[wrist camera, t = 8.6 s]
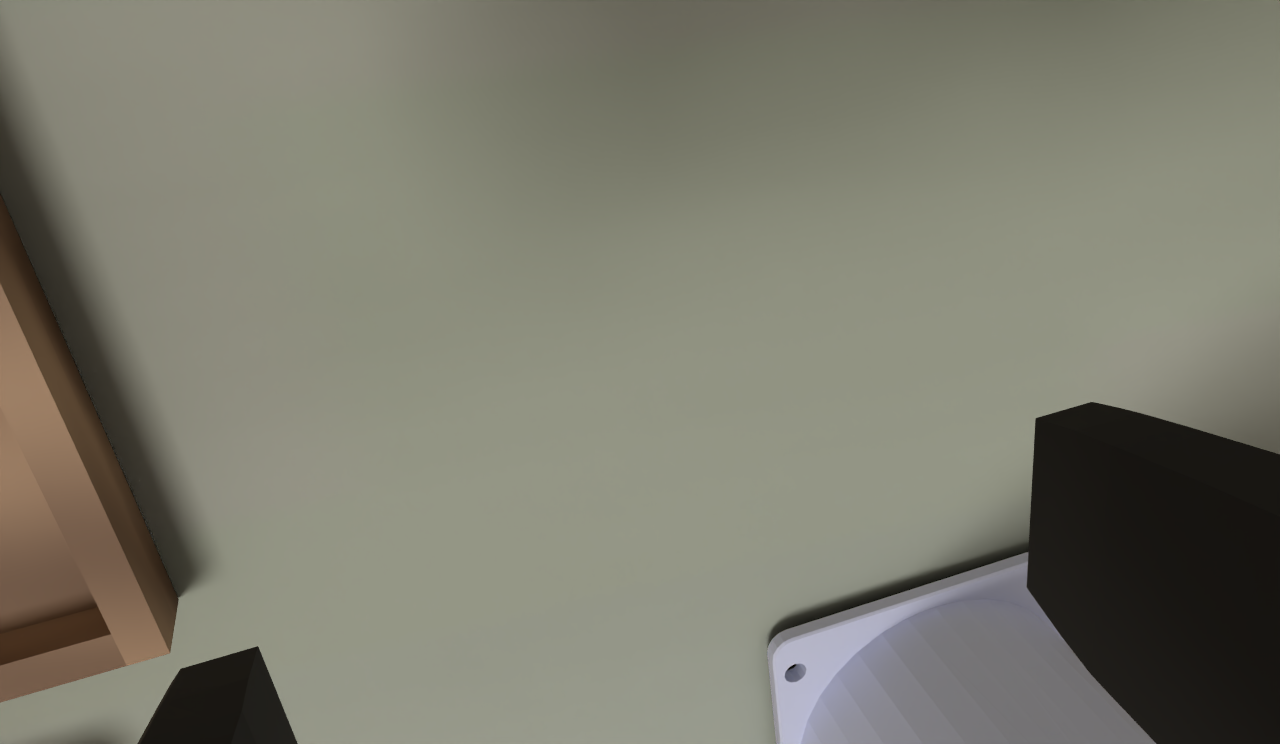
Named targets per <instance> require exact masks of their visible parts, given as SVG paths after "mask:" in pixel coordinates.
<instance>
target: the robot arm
mask: <svg viewBox="0 0 1280 744" xmlns="http://www.w3.org/2000/svg"><path fill="white" fill-rule="evenodd" d="M767 655H768V666H769V676H770V686H771V696H772V706H773V716H774V726H775V736H776V744H1280V455H1279V454H1276V453H1273V452H1269V451H1266V450H1263V449H1260V448H1256V447H1253V446H1250V445H1246V444H1243V443H1240V442H1236V441H1233V440H1230V439H1227V438H1223V437H1220V436H1217V435H1213V434H1210V433H1207V432H1203V431H1200V430H1197V429H1193V428H1190V427H1187V426H1183V425H1180V424H1176V423H1173V422H1169V421H1166V420H1162V419H1159V418H1155V417H1152V416H1148V415H1144V414H1141V413H1137V412H1133V411H1129V410H1125V409H1121V408H1117V407H1112V406H1108V405H1103V404H1099V403H1094V402H1090V403H1087V404H1083V405H1080V406H1076V407H1073V408H1069V409H1066V410H1063V411H1059V412H1056V413H1052V414H1049V415H1046V416H1042V417H1039V418H1036V422H1035V440H1034V459H1033V477H1032V496H1031V514H1030V533H1029V551H1028V552H1026V553H1023V554H1020V555H1017V556H1014V557H1010V558H1007V559H1004V560H1001V561H998V562H995V563H992V564H989V565H986V566H982V567H979V568H976V569H973V570H970V571H967V572H964V573H961V574H958V575H954V576H951V577H948V578H945V579H942V580H939V581H936V582H933V583H929V584H926V585H923V586H920V587H917V588H914V589H911V590H908V591H905V592H901V593H898V594H895V595H892V596H889V597H886V598H883V599H880V600H877V601H873V602H870V603H867V604H864V605H861V606H858V607H855V608H852V609H849V610H845V611H842V612H839V613H836V614H833V615H830V616H827V617H824V618H821V619H817V620H814V621H811V622H808V623H805V624H802V625H799V626H796V627H793V628H789V629H786V630H784V631H782V632H780V633H778V634H777V635H776V636H775V637H774V638H773V639H772V640H771V642H770V644H769V646H768V651H767ZM794 664H796V666H795V667H794V668H792V669H790V670H787V669H788V668H789V667H790V666H792V665H794ZM138 744H297V741H296V739H295V736H294V734H293V731H292V729H291V726H290V724H289V721H288V719H287V717H286V714H285V712H284V709H283V707H282V704H281V702H280V699H279V697H278V694H277V692H276V689H275V687H274V684H273V682H272V679H271V677H270V674H269V672H268V670H267V667H266V665H265V662H264V660H263V657H262V655H261V652H260V650H259V647H258V646H257V647H254V648H251V649H247V650H244V651H240V652H237V653H234V654H230V655H227V656H223V657H220V658H216V659H213V660H210V661H206V662H203V663H199V664H196V665H193V666H189V667H186V668H182V669H180V671H179V672H178V674H177V675H176V677H175V678H174V680H173V681H172V683H171V685H170V686H169V688H168V690H167V692H166V693H165V695H164V697H163V699H162V700H161V702H160V704H159V706H158V708H157V709H156V711H155V713H154V715H153V717H152V718H151V720H150V722H149V724H148V726H147V727H146V729H145V731H144V733H143V735H142V737H141V738H140V740H139V742H138Z"/></svg>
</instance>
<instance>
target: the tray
mask: <svg viewBox="0 0 1280 744" xmlns="http://www.w3.org/2000/svg"><path fill="white" fill-rule="evenodd" d="M178 600H179V599H178V597H177V595H176V592H175V590H174V588H173V586H172V583H171V581H170V579H169V576H168V574H167V572H166V570H165V567H164V565H163V563H162V561H161V558H160V556H159V554H158V551H157V549H156V547H155V545H154V542H153V540H152V538H151V535H150V533H149V531H148V529H147V526H146V524H145V522H144V520H143V517H142V515H141V513H140V510H139V508H138V506H137V504H136V501H135V499H134V497H133V495H132V492H131V490H130V488H129V485H128V483H127V481H126V479H125V476H124V474H123V472H122V470H121V467H120V465H119V463H118V460H117V458H116V456H115V454H114V451H113V449H112V447H111V444H110V442H109V440H108V438H107V435H106V433H105V431H104V429H103V426H102V424H101V422H100V419H99V417H98V415H97V413H96V410H95V408H94V406H93V404H92V401H91V399H90V397H89V394H88V392H87V390H86V388H85V385H84V383H83V381H82V379H81V376H80V374H79V372H78V369H77V367H76V365H75V363H74V360H73V358H72V356H71V353H70V351H69V349H68V347H67V344H66V342H65V340H64V338H63V335H62V333H61V331H60V328H59V326H58V324H57V322H56V319H55V317H54V315H53V313H52V310H51V308H50V306H49V303H48V301H47V299H46V297H45V294H44V292H43V290H42V287H41V285H40V283H39V281H38V278H37V276H36V274H35V272H34V269H33V267H32V265H31V262H30V260H29V258H28V256H27V253H26V251H25V249H24V247H23V244H22V242H21V240H20V237H19V235H18V233H17V231H16V228H15V226H14V224H13V222H12V219H11V217H10V215H9V212H8V210H7V208H6V206H5V203H4V201H3V199H2V196H1V194H0V702H3V701H7V700H10V699H14V698H17V697H21V696H24V695H27V694H31V693H34V692H38V691H41V690H45V689H48V688H52V687H55V686H59V685H62V684H65V683H69V682H72V681H76V680H79V679H83V678H86V677H90V676H93V675H97V674H100V673H103V672H107V671H110V670H114V669H117V668H121V667H124V666H128V665H131V664H134V663H138V662H141V661H145V660H148V659H152V658H155V657H159V656H162V655H166V654H169V653H170V650H171V644H172V638H173V631H174V625H175V619H176V613H177V606H178Z"/></svg>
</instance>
